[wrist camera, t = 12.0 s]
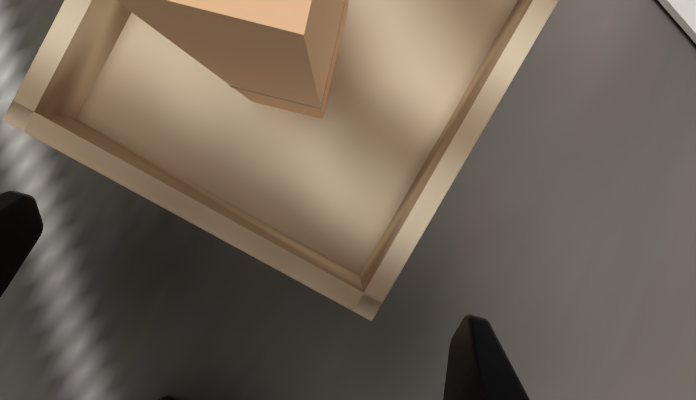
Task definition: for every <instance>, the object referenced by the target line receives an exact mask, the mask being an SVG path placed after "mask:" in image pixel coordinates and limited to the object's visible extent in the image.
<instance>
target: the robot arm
mask: <svg viewBox="0 0 696 400" xmlns="http://www.w3.org/2000/svg"><path fill="white" fill-rule="evenodd" d="M42 230H43V223H42V219H41V216H40V213H39V210H38V207H37V204H36V201H35V199H34V198H33V197H32V196H30V195H27V194H24V193H20V192H16V191H8V192H5V193H2V194H0V297H1V296H2V294H3V293H4V291H5V290H6V288H7V287H8V285H9V284H10V282H11V281H12V279H13V278H14V276H15V274H16V273H17V271H18V270H19V268H20V267H21V265H22V264H23V262H24V260H25V259H26V257H27V256H28V254H29V253H30V251H31V250H32V248H33V246H34V245H35V243H36V242H37V240H38V239H39V237H40V235H41V233H42ZM160 400H174V399H172V398H168V397H165V398H162V399H160ZM443 400H530V399H529V397H528V396H527V394H526V392H525V390H524V388H523V386H522V384H521V382H520V380H519V378H518V377H517V375H516V373H515V371H514V369H513V367H512V365H511V363H510V361H509V359H508V358H507V356H506V354H505V352H504V350H503V348H502V346H501V344H500V342H499V340H498V339H497V337H496V335H495V333H494V331H493V329H492V327H491V325H490V323H489V322H488V321H487V320H486V319H484V318H481V317H477V316H473V315H466V316H465V317H464V318H463V320H462V322H461V323H460V325H459V327H458V328H457V330H456V332H455V333H454V335H453V337H452V339H451V343H450V348H449V357H448V365H447V373H446V382H445V390H444V398H443Z"/></svg>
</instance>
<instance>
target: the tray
mask: <svg viewBox="0 0 696 400" xmlns="http://www.w3.org/2000/svg"><path fill="white" fill-rule="evenodd" d="M557 2H558V0H349V3H348V12H347V16H346V21H345V25H344V29H343V34H342V38H341V42H340V47H339V51H338V55H337V59H336V64H335V68H334V72H333V77H332V81H331V85H330V90H329V94H328V98H327V103H326V107H325V111H324V116H323V119H321V118H317V117H313V116H309V115H305V114H300V113H296V112H292V111H288V110H284V109H280V108H276V107H272V106H268V105H263V104H259V103H255V102H252V101H250V100H249V99H248V98H246V97H245V96H244V95H242V94H241V93H240V92H238V91H237V90H236V89H234V88H232V87H230V86H229V84H228V83H226V82H225V81H223V80H222V79H221V78H219V77H218V76H217V75H215V74H214V73H213V72H211V71H210V70H209V69H207V68H206V67H205V66H203V65H202V64H201V63H199V62H198V61H197V60H195V59H194V58H193V57H191V56H190V55H189V54H187V53H186V52H185V51H183V50H182V49H180V48H179V47H178V46H176V45H175V44H174V43H172V42H171V41H170V40H168V39H167V38H166V37H164V36H163V35H162V34H160V33H159V32H158V31H156V30H155V29H154V28H152V27H151V26H150V25H148V24H147V23H146V22H144V21H143V20H142V19H140V18H139V17H137V16H136V15H135V14H133V13H132V12H131V11H129V10H128V9H127V8H125V7H124V6H123V5H121V4H120V3H119V2H117V1H116V0H65V1H64V3H63V5H62V7H61V9H60V10H59V12H58V14H57V16H56V18H55V20H54V22H53V24H52V26H51V28H50V30H49V32H48V34H47V36H46V38H45V39H44V41H43V43H42V45H41V47H40V49H39V51H38V53H37V55H36V57H35V59H34V61H33V63H32V65H31V67H30V69H29V70H28V72H27V74H26V76H25V78H24V80H23V82H22V84H21V86H20V88H19V90H18V92H17V94H16V96H15V98H14V100H13V101H12V103H11V105H10V107H9V109H8V111H7V113H6V115H5V117H4V119H3V121H5V122H7V123H9V124H11V125H12V126H14V127H16V128H18V129H20V130H22V131H23V132H25V133H27V134H29V135H31V136H33V137H34V138H36V139H38V140H40V141H42V142H44V143H45V144H47V145H49V146H51V147H53V148H55V149H56V150H58V151H60V152H62V153H64V154H66V155H67V156H69V157H71V158H73V159H75V160H77V161H78V162H80V163H82V164H84V165H86V166H88V167H89V168H91V169H93V170H95V171H97V172H99V173H100V174H102V175H104V176H106V177H108V178H110V179H111V180H113V181H115V182H117V183H119V184H121V185H122V186H124V187H126V188H128V189H130V190H132V191H133V192H135V193H137V194H139V195H141V196H143V197H144V198H146V199H148V200H150V201H152V202H154V203H155V204H157V205H159V206H161V207H163V208H165V209H166V210H168V211H170V212H172V213H174V214H176V215H177V216H179V217H181V218H183V219H185V220H187V221H188V222H190V223H192V224H194V225H196V226H198V227H200V228H201V229H203V230H205V231H207V232H209V233H211V234H212V235H214V236H216V237H218V238H220V239H222V240H223V241H225V242H227V243H229V244H231V245H233V246H234V247H236V248H238V249H240V250H242V251H244V252H245V253H247V254H249V255H251V256H253V257H255V258H256V259H258V260H260V261H262V262H264V263H266V264H267V265H269V266H271V267H273V268H275V269H277V270H278V271H280V272H282V273H284V274H286V275H288V276H289V277H291V278H293V279H295V280H297V281H299V282H300V283H302V284H304V285H306V286H308V287H310V288H311V289H313V290H315V291H317V292H319V293H321V294H322V295H324V296H326V297H328V298H330V299H332V300H333V301H335V302H337V303H339V304H341V305H343V306H344V307H346V308H348V309H350V310H352V311H354V312H355V313H357V314H359V315H361V316H363V317H365V318H366V319H368V320H370V321H372V320H373V318H374V317H375V315H376V313H377V311H378V310H379V308H380V306H381V305H382V303H383V301H384V299H385V298H386V296H387V294H388V293H389V291H390V289H391V287H392V286H393V284H394V282H395V281H396V279H397V277H398V275H399V274H400V272H401V270H402V268H403V267H404V265H405V263H406V262H407V260H408V258H409V256H410V255H411V253H412V251H413V250H414V248H415V246H416V244H417V243H418V241H419V239H420V238H421V236H422V234H423V232H424V231H425V229H426V227H427V225H428V224H429V222H430V220H431V219H432V217H433V215H434V213H435V212H436V210H437V208H438V207H439V205H440V203H441V201H442V200H443V198H444V196H445V195H446V193H447V191H448V189H449V188H450V186H451V184H452V182H453V181H454V179H455V177H456V176H457V174H458V172H459V170H460V169H461V167H462V165H463V164H464V162H465V160H466V158H467V157H468V155H469V153H470V152H471V150H472V148H473V146H474V145H475V143H476V141H477V139H478V138H479V136H480V134H481V133H482V131H483V129H484V127H485V126H486V124H487V122H488V121H489V119H490V117H491V115H492V114H493V112H494V110H495V109H496V107H497V105H498V103H499V102H500V100H501V98H502V96H503V95H504V93H505V91H506V90H507V88H508V86H509V84H510V83H511V81H512V79H513V78H514V76H515V74H516V72H517V71H518V69H519V67H520V66H521V64H522V62H523V60H524V59H525V57H526V55H527V53H528V52H529V50H530V48H531V47H532V45H533V43H534V41H535V40H536V38H537V36H538V35H539V33H540V31H541V29H542V28H543V26H544V24H545V23H546V21H547V19H548V17H549V16H550V14H551V12H552V10H553V9H554V7H555V5H556V4H557Z"/></svg>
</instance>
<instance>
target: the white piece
mask: <svg viewBox="0 0 696 400" xmlns="http://www.w3.org/2000/svg"><path fill="white" fill-rule="evenodd" d="M658 1H659V2H660V3H661V5H662V6H663V7H664V8H665V9H666V10H667V11H668V13H669V14H670V15H671V16H672V17H673V18H674V20H675V21H676V22H677V23H678V24H679V25H680V26H681V28H682V29H683V30H684V31H685V32H686V33H687V35H688V36H689V37H690V38H691V39H692V40H693V41H694V43H695V44H696V0H658Z"/></svg>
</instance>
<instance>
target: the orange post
mask: <svg viewBox="0 0 696 400" xmlns="http://www.w3.org/2000/svg"><path fill="white" fill-rule="evenodd" d="M116 1H117V2H119V3H120V4H121V5H123V6H124V7H125V8H127V9H128V10H129V11H131V12H132V13H133V14H135V15H136V16H137V17H139V18H140V19H142V20H143V21H144V22H146V23H147V24H148V25H150V26H151V27H152V28H154V29H155V30H156V31H158V32H159V33H160V34H162V35H163V36H164V37H166V38H167V39H168V40H170V41H171V42H172V43H174V44H175V45H176V46H178V47H179V48H180V49H182V50H183V51H185V52H186V53H187V54H189V55H190V56H191V57H193V58H194V59H195V60H197V61H198V62H199V63H201V64H202V65H203V66H205V67H206V68H207V69H209V70H210V71H211V72H213V73H214V74H215V75H217V76H218V77H219V78H221V79H222V80H223V81H225V82H226V83H228V84H229V86H230V87H232V88H234V89H236V90H237V91H238V92H240V93H241V94H242V95H244V96H245V97H246V98H248V99H249V100H250V101H252V102H255V103H259V104H263V105H268V106H272V107H276V108H280V109H284V110H288V111H292V112H296V113H300V114H305V115H309V116H313V117H317V118H321V119H323V116H324V111H325V107H326V103H327V98H328V94H329V90H330V85H331V81H332V77H333V72H334V68H335V64H336V59H337V55H338V51H339V47H340V42H341V38H342V34H343V29H344V25H345V21H346V16H347V12H348V3H349V0H116Z"/></svg>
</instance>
